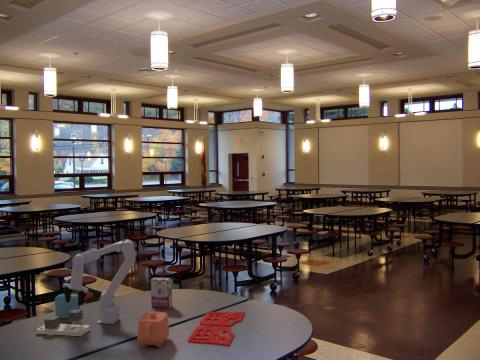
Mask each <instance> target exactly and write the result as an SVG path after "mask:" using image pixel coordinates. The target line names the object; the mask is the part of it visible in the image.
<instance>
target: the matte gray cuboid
mask: <svg viewBox="0 0 480 360" xmlns="http://www.w3.org/2000/svg"><path fill="white" fill-rule="evenodd" d="M83 316H84V313H83V309H80V310H78V309H73V310H72V311H70V312H68V317H69V318H68V322H71V324H72V325H81V324H80V321H81V320H82V319H84V317H83Z"/></svg>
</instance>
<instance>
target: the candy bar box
mask: <svg viewBox="0 0 480 360" xmlns="http://www.w3.org/2000/svg"><path fill="white" fill-rule="evenodd" d="M172 282H173V281H172V277H152V278H151V279H150V295H151V296H150V297H151V298H150V299H151V301H150V302H151V308H155V309H168V310H169V309H171V308H172V307H173V286H172Z"/></svg>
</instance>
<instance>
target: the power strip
mask: <svg viewBox="0 0 480 360" xmlns="http://www.w3.org/2000/svg"><path fill="white" fill-rule="evenodd" d="M35 329H36V330H35ZM34 330H35V334H36V333H48V334H59V335H73V336H81V337H83V336H84V335H85V334H84V333H86V332H87V333H88V331H89V332H90V331H91V325H90V324H89V325H86V324H78V325H72V323H71V324H69V323H61V318H60V316H56V315H55V316H54V315H49V316H48V317H46V318H45V319H44V324H43V325H42V326H40V327H37V328H36V327H35V328H34ZM87 333H86V334H87ZM83 334H84V335H83ZM82 335H83V336H82Z"/></svg>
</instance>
